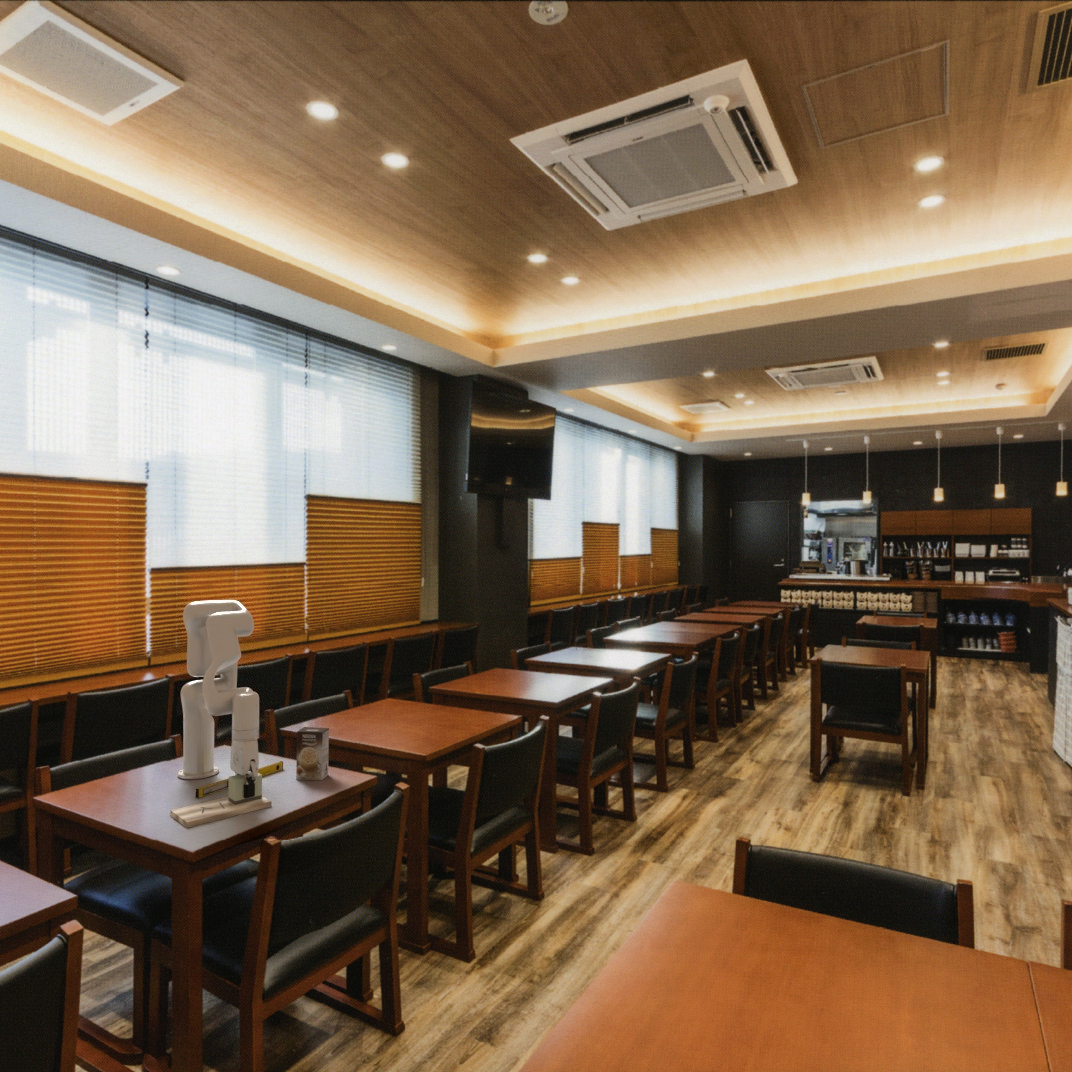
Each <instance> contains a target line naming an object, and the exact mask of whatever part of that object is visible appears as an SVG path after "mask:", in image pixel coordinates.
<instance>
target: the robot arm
mask: <svg viewBox="0 0 1072 1072" xmlns="http://www.w3.org/2000/svg"><path fill="white" fill-rule="evenodd" d="M182 613H183V614H182V618H183V619H182V620H183V624H184V627H185V630H186V634H187V635H186V636H187V646H186V647H187V649H186V670H187V674H188V675H189V676H190V677H195V678H199V677H200V678H201V677H202V678H203V679H196V680H192V681H188V682H186V683H185V684H184V685H182V687H181V690H180V702H181V706H182V714H183V715H182V716H183V721H182V723H183V732H182V733H183V735H182V736H183V737H182V738H183V741H182V743H183V744H182V745H183V748H182V749H183V752H182V756H183V757H182V769H180V770H179V771H178V772H177V777H178V778H180V779H183V780H198V779H205V778H209V777H212V776H215V775H217V774H218V773H219V771H220V770H219V769H220V768H219V766H216V765H215V720H214V717H213V716H215V717H218V716H224V715H230V714H231V718H232V719H231V747H230V760H229V761H230V763H229V764H230V766H229V767H230V770H231V771H233V772H234V773H235V775H242V776H243V775H244V779H245V785H244V798H250V797H254V796H255V783H256V778H257V776H258V773H257V771H258V769H259V768H260V767H259V764H260V761H259V760H260V759H259V742H258V739H260V696H259V694H258V693H257V692H256V691H253V689H252V688H250V687H247V686H244V687H243V686H242V687H237V685H238V684H237V683H238V661H240V659H241V657H242V652H241V647H240V643H239V642H240V641H239V637H241V638H242V637H249V636H251V635H252V634H253V633H254V629H255V620H254V618H253V615H252V614H251V612H250V611H249V610H248V609H247V608H246V606H245V605H243V604H242V603H241V602H240V601H238V600H235V599H222V600H220V599H219V600H200V601H192V602H189V603H188V604H186V605H185V607H184V609H183V612H182ZM216 676H220V677H216ZM215 677H216V678H215ZM250 771H251V773H248V772H250ZM247 773H248V774H247ZM235 775H234V776H235ZM248 775H251V776H250V777H249V778H248Z"/></svg>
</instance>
